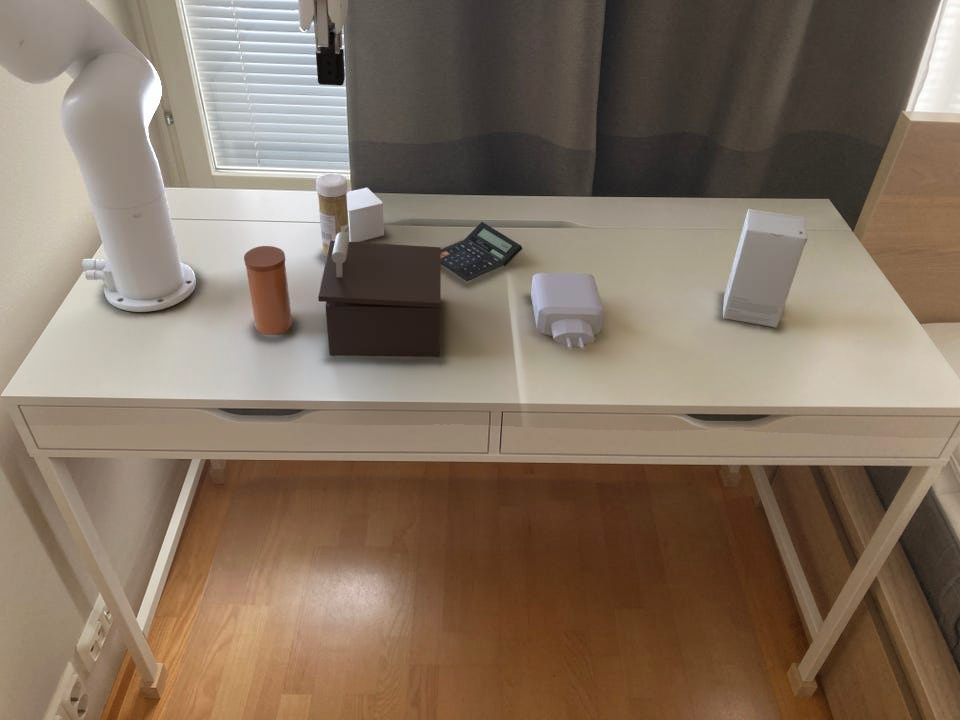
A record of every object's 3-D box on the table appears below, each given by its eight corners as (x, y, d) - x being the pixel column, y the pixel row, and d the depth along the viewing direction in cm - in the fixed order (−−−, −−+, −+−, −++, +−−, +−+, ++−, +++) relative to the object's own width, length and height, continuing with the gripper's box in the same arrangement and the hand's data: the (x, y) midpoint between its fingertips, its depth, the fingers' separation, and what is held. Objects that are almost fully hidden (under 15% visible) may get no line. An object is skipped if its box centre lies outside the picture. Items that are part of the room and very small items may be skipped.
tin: (252, 339, 109) (240, 266, 102) (259, 316, 113) (247, 245, 106) (290, 340, 109) (281, 267, 102) (295, 317, 113) (287, 246, 106)
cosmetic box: (776, 306, 122) (808, 216, 112) (777, 331, 117) (810, 239, 107) (721, 295, 123) (748, 205, 114) (719, 319, 119) (747, 227, 109)
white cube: (335, 227, 133) (333, 194, 130) (368, 219, 136) (367, 187, 132) (350, 243, 130) (348, 210, 126) (384, 235, 132) (383, 202, 128)
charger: (540, 361, 109) (530, 298, 120) (607, 362, 109) (590, 299, 121) (544, 334, 106) (533, 272, 117) (612, 335, 106) (595, 273, 118)
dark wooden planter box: (329, 359, 107) (325, 306, 101) (339, 300, 117) (336, 249, 112) (439, 361, 108) (440, 308, 102) (439, 303, 118) (440, 252, 112)
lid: (318, 301, 101) (317, 269, 98) (330, 245, 111) (329, 214, 108) (440, 308, 102) (442, 276, 99) (440, 251, 112) (442, 222, 109)
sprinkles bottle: (356, 259, 126) (352, 181, 118) (329, 266, 124) (323, 188, 115) (343, 246, 129) (338, 169, 120) (317, 253, 127) (310, 175, 118)
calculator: (428, 258, 127) (428, 242, 125) (482, 236, 134) (483, 220, 132) (466, 285, 122) (467, 268, 120) (521, 260, 128) (522, 244, 126)
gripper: (297, -95, 95) (309, 61, 106) (276, -68, 83) (292, 104, 95) (361, -92, 95) (366, 63, 107) (349, -64, 84) (356, 107, 95)
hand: (331, 82), depth 101 cm, fingers closed
